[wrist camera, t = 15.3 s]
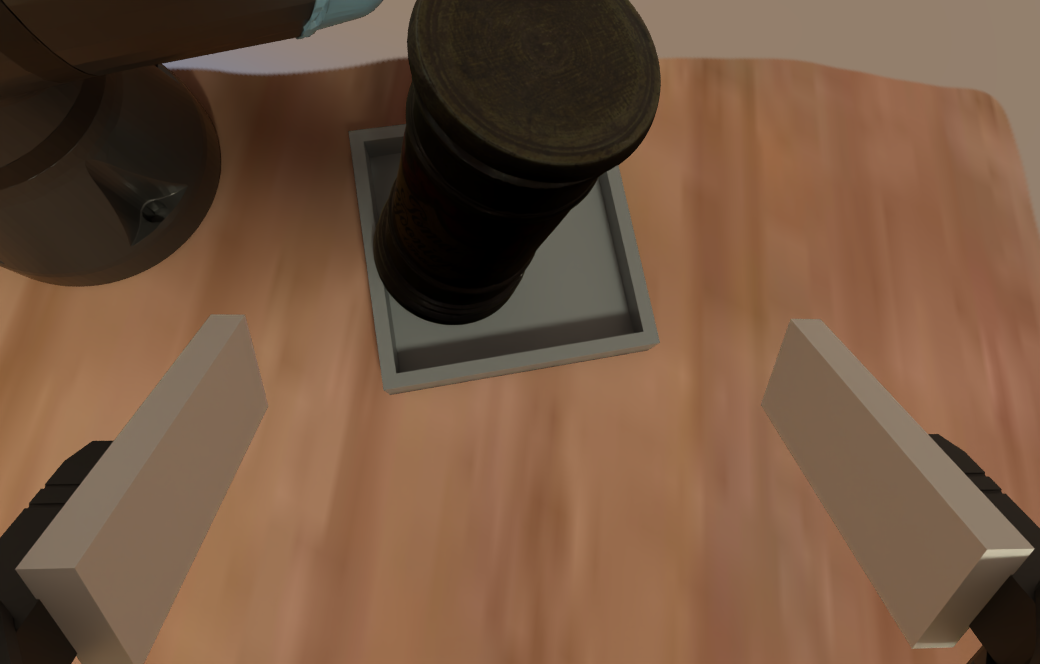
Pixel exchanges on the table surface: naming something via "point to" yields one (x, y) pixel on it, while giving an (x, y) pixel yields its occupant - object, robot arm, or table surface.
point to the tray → (535, 302)
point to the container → (505, 141)
